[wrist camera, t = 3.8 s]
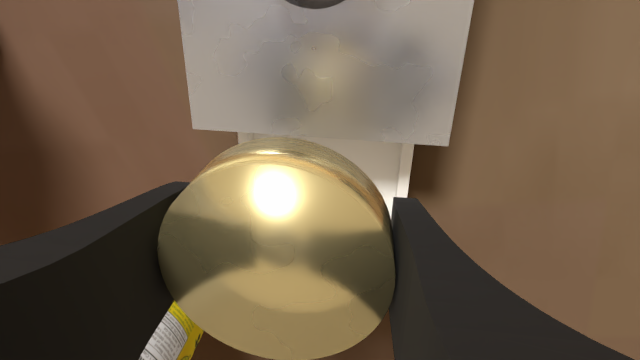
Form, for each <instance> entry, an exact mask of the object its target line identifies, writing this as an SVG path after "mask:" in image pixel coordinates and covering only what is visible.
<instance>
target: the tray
mask: <svg viewBox="0 0 640 360" xmlns="http://www.w3.org/2000/svg"><path fill="white" fill-rule="evenodd" d="M268 137H288V138H296V139H302V140H306V141H310V142H314V143H317V144H320V145H322V146H325V147H328V148H330V149H332V150H334V151H336V152H337V153H339V154H341V155H343V156H344V157H346V158H347V159H349V160H350V161H352V162H353V163H354V164H356V165H357V166H358V167H359V168H360V169H361V170H362V171H363V172H364V173H366V175H367V176H368V177H369V178H370V179H371V180H372V182H373V183H374V184H375V185H376V187H377V189H378V190H379V192H380V193H381V195H382V196H383V199H384V201H385V203H386V205H387V207H388V211H389V214H390V218H391V215H392V205H393V197H403V198H407V194H408V187H409V180H410V172H411V165H412V158H413V150H414V144H407V143H392V142H377V141H363V140H348V139H334V138H319V137H304V136H290V135H275V134H260V133H246V132H238V144H240V143H243V142H247V141H250V140H254V139H260V138H268Z"/></svg>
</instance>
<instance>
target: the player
mask: <svg viewBox="0 0 640 360" xmlns="http://www.w3.org/2000/svg"><path fill="white" fill-rule="evenodd" d="M473 4H474V0H178V8H179V16H180V25H181V33H182V41H183V50H184V58H185V67H186V75H187V83H188V92H189V100H190V109H191V117H192V125H193V129H202V130H217V131H231V132H246V133H260V134H275V135H290V136H304V137H319V138H334V139H348V140H363V141H377V142H392V143H407V144H421V145H436V146H448V145H449V139H450V134H451V128H452V122H453V117H454V111H455V106H456V100H457V94H458V89H459V83H460V77H461V72H462V66H463V60H464V55H465V49H466V44H467V38H468V32H469V27H470V21H471V15H472V10H473Z"/></svg>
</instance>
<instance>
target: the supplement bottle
mask: <svg viewBox="0 0 640 360" xmlns="http://www.w3.org/2000/svg"><path fill="white" fill-rule="evenodd" d="M203 332H204V330H202V329H201V328H200V327H199V326H198V325H196V324H195V323H194V322H193V321H192V320H191V319H190V318H189V317H188V316H187V315H186V314H185V313H184V312H183V311H182V310H181V308H180V307H179V306H178V304H177V303H176V302H175V300H174V302H173V304H172V305H171V307H170V308H169V310H168V311H167V313H166V315H165V316H164V318H163V319H162V321H161V322H160V324H159V326H158V327H157V329H156V330H155V332H154V334H153V335H152V337H151V338H150V340H149V342H148V344H147V345H146V347H145V349H144V350H143V352H142V354H141V356H140V358H139V360H190V359H191V357H192V355H193V353H194V351H195V349H196V347H197V345H198V343H199V341H200V339H201V336H202V334H203Z"/></svg>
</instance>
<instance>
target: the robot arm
mask: <svg viewBox="0 0 640 360" xmlns="http://www.w3.org/2000/svg"><path fill="white" fill-rule="evenodd" d="M189 184H190V183H189V182H172V183H169V184H166V185H163V186H160V187H158V188H155V189H153V190H150V191H148V192H146V193H143V194H141V195H139V196H137V197H134V198H132V199H130V200H127V201H125V202H123V203H120V204H118V205H116V206H114V207H111V208H109V209H106V210H104V211H101V212H99V213H96V214H94V215H92V216H89V217H87V218H84V219H82V220H79V221H77V222H74V223H71V224H69V225H66V226H63V227H60V228H58V229H55V230H52V231H49V232H46V233H42V234H39V235H36V236H33V237H30V238H27V239H23V240H20V241H17V242H13V243H9V244H5V245H1V246H0V360H139V358H140V356H141V354H142V352H143V350H144V349H145V347H146V345H147V344H148V342H149V340H150V338H151V337H152V335H153V334H154V332H155V330H156V329H157V327H158V326H159V324H160V322H161V321H162V319H163V318H164V316H165V315H166V313H167V311H168V310H169V308H170V307H171V305H172V304H173V302H174V299H173V297H172V295H171V294H170V292H169V290H168V288H167V286H166V284H165V282H164V279H163V277H162V273H161V270H160V266H159V260H158V252H157V250H158V236H159V231H160V227H161V224H162V221H163V219H164V216H165V214H166V212H167V211H168V209H169V207H170V206H171V204H172V203H173V202H174V201H175V199H176V198H177V197H178V196H179V195H180V194H181V192H182V191H183V190H184V189H185V188H186V187H187V186H188V185H189ZM391 222H392V230H393V244H394V261H395V288H394V293H393V297H392V301H391V303H390V306H389V316H390V324H391V332H392V341H393V349H394V357H395V360H634V359H632V358H630V357H628V356H626V355H623V354H621V353H619V352H617V351H615V350H613V349H611V348H608V347H606V346H604V345H602V344H600V343H598V342H596V341H594V340H592V339H590V338H588V337H586V336H585V335H583V334H581V333H579V332H577V331H575V330H574V329H572V328H570V327H568V326H566V325H565V324H563V323H561V322H559V321H557V320H556V319H554V318H552V317H551V316H549V315H547V314H546V313H544V312H542V311H541V310H539V309H538V308H536V307H534V306H533V305H531V304H530V303H528V302H527V301H525V300H524V299H522V298H521V297H519V296H518V295H516V294H515V293H513V292H512V291H511V290H509V289H508V288H506V287H505V286H504V285H502V284H501V283H500V282H498V281H497V280H496V279H495V278H493V277H492V276H491V275H490V274H488V273H487V272H486V271H484V270H483V269H482V268H481V267H480V266H478V265H477V264H476V263H475V262H474V261H473V260H472V259H471V258H470V257H469V256H467V255H466V254H465V253H464V252H463V251H462V250H461V249H460V248H459V247H458V246H457V245H456V244H455V243H454V242H453V241H452V240H451V239H450V238H449V237H448V235H447V234H446V233H445V232H444V231H443V230H442V229H441V228H440V226H439V225H438V224H437V223H436V222H435V220H434V219H433V218H432V217H431V215H430V214H429V213H428V212H427V210H426V209H425V208H424V207H423V205H422V204H421V203H420V202H419V201H418V199H417V198H403V197H393V205H392V215H391Z"/></svg>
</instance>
